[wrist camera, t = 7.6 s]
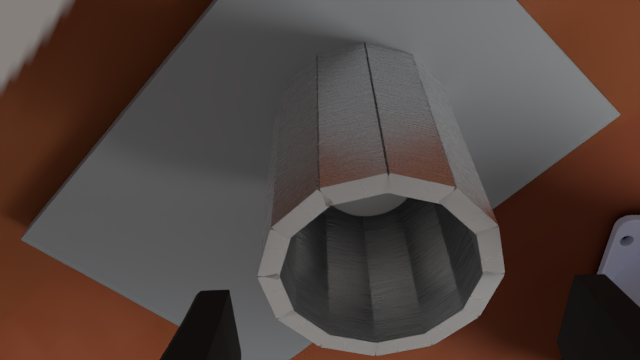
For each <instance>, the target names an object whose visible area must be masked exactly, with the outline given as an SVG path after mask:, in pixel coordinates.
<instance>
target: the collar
mask: <svg viewBox="0 0 640 360" xmlns="http://www.w3.org/2000/svg"><path fill="white" fill-rule="evenodd" d="M384 193H390V194H395V195H400V196H404V197H407V199H406V200H405V201H404V202H403V203H402V204H400V205H399V206H397V207H396V208H394V209H392V210H391V211H388V212H386V213H383V214H379V215H374V216H356V215H352V214H348V213H345V212H343V211H341V210H339V209H337V208H336V207H334V206H333V205H335V204H340V203H344V202H349V201H353V200H358V199H362V198H367V197H371V196H376V195H380V194H384ZM504 273H505V269H504V261H503V254H502V246H501V239H500V231H499V226H498V223H497V221H496V218H495V216H494V213H493V211H492V208H491V206H490V203H489V201H488V198H487V196H486V193H485V191H484V188H483V186H482V183H481V181H480V178H479V176H478V173H477V171H476V168H475V166H474V163H473V161H472V158H471V156H470V153H469V151H468V148H467V145H466V143H465V140H464V138H463V135H462V133H461V130H460V128H459V125H458V123H457V120H456V118H455V115H454V113H453V110H452V108H451V105H450V103H449V100H448V98H447V95H446V93H445V90H444V88H443V86H442V84H441V83H440V82H439V81H438V80H437V79H436V78H435V77H434V76H433V75H432V74H431V73H430V72H429V71H428V70H427V69H426V68H425V67H424V66H423V64H422V63H421V62H420V61H419V60H418V59H417V58H416V57H415V56H414V55H413V54H412V55H411V53H408V52H404V51H400V50H396V49H391V48H387V47H383V46H379V45H375V44H371V43H367V42H365V45H364V42H362V43H358V44H354V45H351V46H347V47H343V48H339V49H335V50H332V51H328V52H324V53H320V54H318V56H314V57H313V58H312V59H311V60H310V61H309V62H308V63H307V64H306V65H305V66H304V67H303V68H302V69H301V70H300V71H299V72H298V73H297V74H296V75H295V76H294V77H293V78H292V79H290V80H289V81H288V82H287V83H286V84H285V85H284V87H283V90H282V94H281V98H280V102H279V106H278V110H277V114H276V118H275V122H274V126H273V135H272V144H271V154H270V163H269V172H268V181H267V191H266V200H265V209H264V218H263V228H262V237H261V246H260V255H259V265H258V274H257V276H258V277H257V278H258V280H259V282H260V284H261V286H262V288H263V291H264V293H265V295H266V297H267V299H268V301H269V304H270V306H271V308H272V310H273V312H274V314H275V317H276V318H278V320H279V321H280V322H282V323H284V324H285V325H287V326H288V327H290V328H291V329H293V330H294V331H296V332H297V333H299V334H301V335H302V336H304V337H305V338H307V339H308V340H310V341H311V342H313V343H315V344H316V345H318V346H320V345H321V347H323V348H330V349H336V350H342V351H348V352H354V353H360V354H366V355H372V356H375V353H376V356H379V355H384V354H389V353H395V352H400V351H406V350H411V349H417V348H422V347H427V346H431V344H433V345H434V344H436V343H437V342H439V341H441V340H442V339H444V338H446V337H447V336H449V335H451V334H452V333H454V332H455V331H457V330H459V329H460V328H462V327H464V326H465V325H467V324H468V323H470V322H472V321H473V320H475V319H477V318H478V316H480V315H481V313H482V312H483V310H484V308H485V307H486V305H487V303H488V302H489V300H490V298H491V297H492V295H493V293H494V292H495V290H496V288H497V287H498V285H499V283H500V282H501V280H502V278H503V277H504V275H505V274H504Z"/></svg>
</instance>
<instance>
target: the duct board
mask: <svg viewBox="0 0 640 360" xmlns="http://www.w3.org/2000/svg"><path fill="white" fill-rule="evenodd" d="M362 42H364V45H365V42H367V43H371V44H375V45H379V46H383V47H387V48H391V49H396V50H400V51H404V52H408V53H411V55H412V54H413V55H414V56H415V57H416V58H417V59H418V60H419V61H420V62H421V63H422V64H423V66H424V67H425V68H426V69H427V70H428V71H429V72H430V73H431V74H432V75H433V76H434V77H435V78H436V79H437V80H438V81H439V82H440V83H441V84H442V86H443V88H444V90H445V93H446V95H447V98H448V100H449V103H450V105H451V108H452V110H453V113H454V115H455V118H456V120H457V123H458V125H459V128H460V130H461V133H462V135H463V138H464V140H465V143H466V145H467V148H468V151H469V153H470V156H471V158H472V161H473V163H474V166H475V168H476V171H477V173H478V176H479V178H480V181H481V183H482V186H483V188H484V191H485V193H486V196H487V198H488V201H489V203H490V206H491V208H492V210H493V209H494V208H495V207H497V206H498V205H499V204H501V203H502V202H503V201H505V200H506V199H508V198H509V197H510V196H512V195H513V194H514V193H516V192H517V191H518V190H520V189H521V188H522V187H524V186H525V185H526V184H528V183H529V182H531V181H532V180H533V179H535V178H536V177H537V176H539V175H540V174H541V173H543V172H544V171H545V170H547V169H548V168H549V167H551V166H552V165H553V164H555V163H556V162H558V161H559V160H560V159H562V158H563V157H564V156H566V155H567V154H568V153H570V152H571V151H572V150H574V149H575V148H576V147H578V146H579V145H581V144H582V143H583V142H585V141H586V140H587V139H589V138H590V137H591V136H593V135H594V134H595V133H597V132H598V131H599V130H601V129H602V128H604V127H605V126H606V125H608V124H609V123H610V122H612V121H613V120H614V119H616V118H617V117H618V116H620V114H619V112H618V111H617V110H616V109H615V108H614V107H613V105H612V104H611V103H610V102H609V101H608V100H607V99H606V98H605V96H604V95H603V94H602V93H601V92H600V91H599V90H598V89H597V88H596V87H595V85H594V84H593V83H592V82H591V81H590V80H589V79H588V78H587V77H586V76H585V75H584V73H583V72H582V71H581V70H580V69H579V68H578V67H577V66H576V65H575V64H574V63H573V61H572V60H571V59H570V58H569V57H568V56H567V55H566V54H565V53H564V52H563V50H562V49H561V48H560V47H559V46H558V45H557V44H556V43H555V42H554V41H553V40H552V38H551V37H550V36H549V35H548V34H547V33H546V32H545V31H544V30H543V29H542V27H541V26H540V25H539V24H538V23H537V22H536V21H535V20H534V19H533V18H532V17H531V15H530V14H529V13H528V12H527V11H526V10H525V9H524V8H523V7H522V6H521V4H520V3H519V2H518V1H517V0H213V1H212V2H211V4H210V5H209V6H208V7H207V8H206V10H205V11H204V12H203V13H202V15H201V16H200V17H199V18H198V19H197V21H196V22H195V23H194V24H193V26H192V27H191V28H190V29H189V30H188V32H187V33H186V34H185V35H184V37H183V38H182V39H181V40H180V41H179V43H178V44H177V45H176V46H175V48H174V49H173V50H172V51H171V52H170V54H169V55H168V56H167V57H166V59H165V60H164V61H163V62H162V63H161V65H160V66H159V67H158V68H157V70H156V71H155V72H154V73H153V74H152V76H151V77H150V78H149V79H148V80H147V82H146V83H145V84H144V85H143V87H142V88H141V89H140V90H139V91H138V93H137V94H136V95H135V96H134V98H133V99H132V100H131V101H130V102H129V104H128V105H127V106H126V107H125V109H124V110H123V111H122V112H121V113H120V115H119V116H118V117H117V118H116V120H115V121H114V122H113V123H112V124H111V126H110V127H109V128H108V129H107V131H106V132H105V133H104V134H103V135H102V137H101V138H100V139H99V140H98V142H97V143H96V144H95V145H94V146H93V148H92V149H91V150H90V151H89V152H88V154H87V155H86V156H85V157H84V159H83V160H82V161H81V162H80V163H79V165H78V166H77V167H76V168H75V170H74V171H73V172H72V173H71V174H70V176H69V177H68V178H67V179H66V181H65V182H64V183H63V184H62V185H61V187H60V188H59V189H58V190H57V192H56V193H55V194H54V195H53V196H52V198H51V199H50V200H49V201H48V203H47V204H46V205H45V206H44V207H43V209H42V210H41V211H40V212H39V214H38V215H37V216H36V217H35V218H34V220H33V221H32V222H31V223H30V225H29V227H28V228H27V230H26V232H25V233H24V235H23V237H22V238H21V240H22V241H24V242H26V243H27V244H29V245H31V246H33V247H35V248H37V249H38V250H40V251H42V252H44V253H46V254H48V255H49V256H51V257H53V258H55V259H57V260H59V261H60V262H62V263H64V264H66V265H68V266H70V267H71V268H73V269H75V270H77V271H79V272H81V273H82V274H84V275H86V276H88V277H90V278H92V279H93V280H95V281H97V282H99V283H101V284H103V285H104V286H106V287H108V288H110V289H112V290H113V291H115V292H117V293H119V294H121V295H123V296H124V297H126V298H128V299H130V300H132V301H134V302H135V303H137V304H139V305H141V306H143V307H145V308H146V309H148V310H150V311H152V312H154V313H156V314H157V315H159V316H161V317H163V318H165V319H167V320H168V321H170V322H172V323H174V324H176V325H178V326H180V325H181V323H182V321H183V319H184V317H185V316H186V314H187V312H188V310H189V308H190V306H191V304H192V302H193V300H194V298H195V296H196V295H197V294H198V293H199V292H200V291H206V290H230V296H231V301H232V306H233V311H234V317H235V322H236V327H237V332H238V338H239V343H240V348H241V360H290V359H291V358H292V357H294V356H295V355H296V354H298V353H299V352H301V351H302V350H303V349H305V348H306V347H307V346H309V345H310V344H311V343H313V342H311V341H310V340H308V339H307V338H305V337H304V336H302V335H301V334H299V333H297V332H296V331H294V330H293V329H291V328H290V327H288V326H287V325H285V324H284V323H282V322H280V321H279V320H278V318H276V317H275V314H274V312H273V310H272V308H271V306H270V304H269V301H268V299H267V297H266V295H265V293H264V291H263V288H262V286H261V284H260V282H259V280H258V278H257V277H258V276H257V274H258V265H259V255H260V246H261V237H262V228H263V218H264V209H265V200H266V191H267V181H268V172H269V163H270V154H271V144H272V135H273V126H274V122H275V118H276V114H277V110H278V106H279V102H280V98H281V94H282V90H283V87H284V85H285V84H286V83H287V82H288V81H289V80H290V79H292V78H293V77H294V76H295V75H296V74H297V73H298V72H299V71H300V70H301V69H302V68H303V67H304V66H305V65H306V64H307V63H308V62H309V61H310V60H311V59H312V58H313V57H314V56H318V54H320V53H324V52H328V51H332V50H335V49H339V48H343V47H347V46H351V45H354V44H358V43H362ZM406 199H407V197H404V196H400V195H395V194H390V193H384V194H380V195H376V196H371V197H367V198H362V199H358V200H353V201H349V202H344V203H340V204H335V205H333V206H334V207H336V208H337V209H339V210H341V211H343V212H345V213H348V214H352V215H356V216H374V215H379V214H383V213H386V212H388V211H391V210H392V209H394V208H396V207H397V206H399V205H400V204H402V203H403V202H404V201H405V200H406Z"/></svg>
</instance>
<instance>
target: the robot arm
mask: <svg viewBox="0 0 640 360" xmlns="http://www.w3.org/2000/svg"><path fill="white" fill-rule="evenodd" d="M625 236H628V237H626V238H625V239H622V238H623V237H625ZM557 342H558V346H559V350H560V353H561V357H562V360H640V215H628V216H624V217H622V218H620V219H619V220H617V221H616V223H615V224H614V226H613V229H612V232H611V235H610V238H609V241H608V243H607V246H606V249H605V252H604V255H603V258H602V261H601V263H600V266H599V269H598V272H597V274H590V275H575V276H574V279H573V283H572V287H571V291H570V295H569V298H568V302H567V306H566V310H565V313H564V317H563V321H562V325H561V328H560V332H559V336H558V340H557ZM160 360H241V348H240V343H239V338H238V332H237V327H236V322H235V317H234V311H233V306H232V301H231V296H230V290H206V291H200V292H199V293H198V294H197V295H196V296H195V298H194V300H193V302H192V304H191V306H190V308H189V310H188V312H187V314H186V316H185V317H184V319H183V321H182V323H181V325H180V326H179V328H178V330H177V332H176V333H175V335H174V337H173V339H172V340H171V342H170V344H169V345H168V347H167V349H166V350H165V352H164V353H163V355H162V357H161V358H160Z"/></svg>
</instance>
